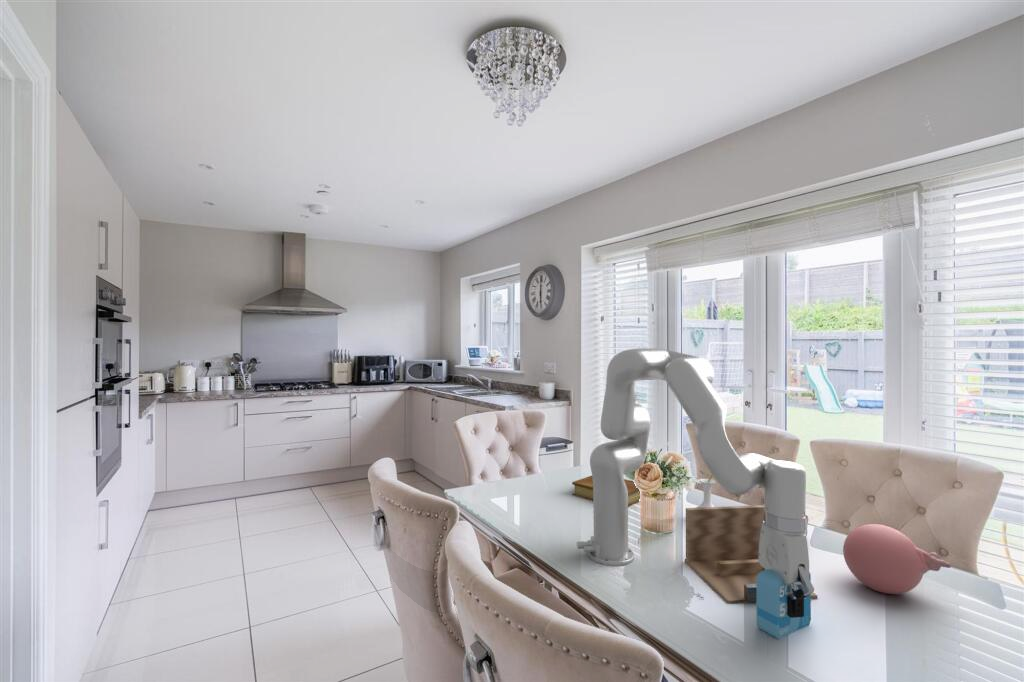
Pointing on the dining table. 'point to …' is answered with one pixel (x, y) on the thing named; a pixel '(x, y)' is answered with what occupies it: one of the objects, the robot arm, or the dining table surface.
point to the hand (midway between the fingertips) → (783, 606)
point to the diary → (586, 490)
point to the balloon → (887, 559)
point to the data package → (778, 606)
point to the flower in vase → (707, 491)
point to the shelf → (725, 547)
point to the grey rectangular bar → (750, 592)
